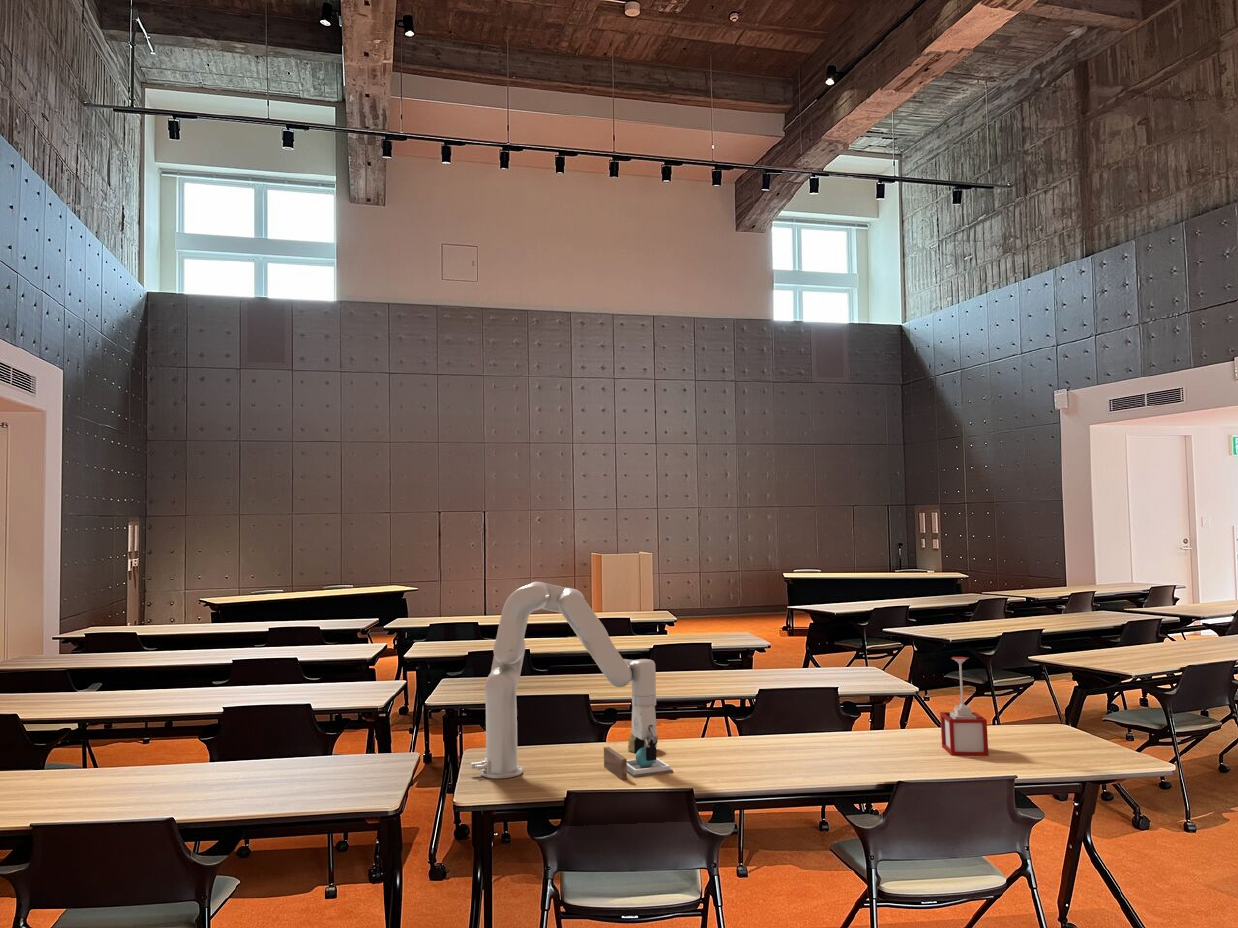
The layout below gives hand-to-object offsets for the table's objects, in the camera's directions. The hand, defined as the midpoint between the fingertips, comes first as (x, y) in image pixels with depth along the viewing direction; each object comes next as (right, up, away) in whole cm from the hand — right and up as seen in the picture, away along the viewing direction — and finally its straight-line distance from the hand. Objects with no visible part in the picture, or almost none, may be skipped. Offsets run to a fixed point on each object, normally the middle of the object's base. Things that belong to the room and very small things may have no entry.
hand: (645, 756), depth 262 cm
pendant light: (+105, -3, +14) cm, 106 cm away
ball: (0, 0, 0) cm, 0 cm away
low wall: (-9, -4, -4) cm, 11 cm away
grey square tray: (0, -4, 0) cm, 4 cm away
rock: (0, -6, +23) cm, 24 cm away
